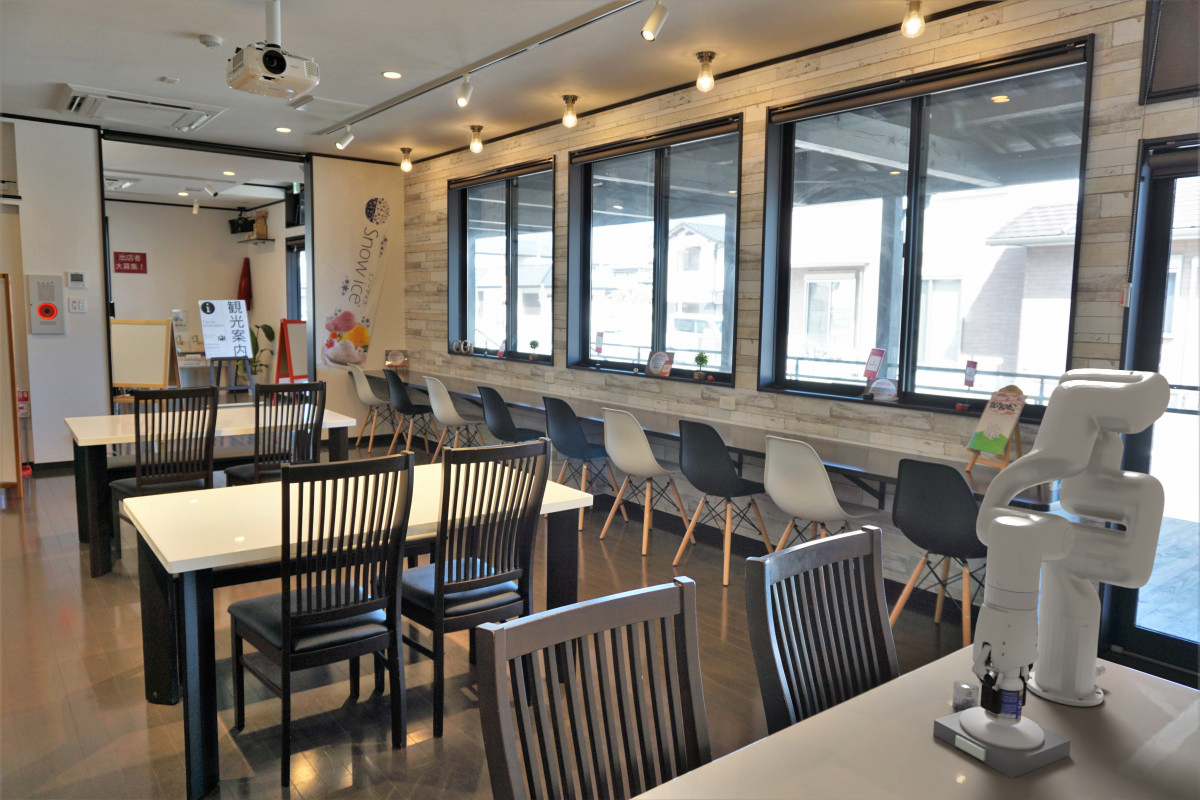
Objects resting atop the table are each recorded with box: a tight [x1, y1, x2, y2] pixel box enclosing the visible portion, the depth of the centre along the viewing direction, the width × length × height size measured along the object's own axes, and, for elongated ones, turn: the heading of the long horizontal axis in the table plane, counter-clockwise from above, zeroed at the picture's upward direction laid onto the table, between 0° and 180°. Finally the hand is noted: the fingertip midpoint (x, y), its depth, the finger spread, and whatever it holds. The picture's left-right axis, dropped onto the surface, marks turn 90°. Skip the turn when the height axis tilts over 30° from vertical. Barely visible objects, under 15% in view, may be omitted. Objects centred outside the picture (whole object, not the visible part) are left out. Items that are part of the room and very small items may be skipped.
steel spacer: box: [951, 680, 980, 712], centre depth 140 cm, size 4×4×4 cm
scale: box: [932, 704, 1071, 779], centre depth 127 cm, size 14×14×3 cm
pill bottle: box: [984, 663, 1023, 725], centre depth 127 cm, size 5×5×9 cm
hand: (1002, 705), depth 127 cm, fingers closed on pill bottle, 5 cm apart
